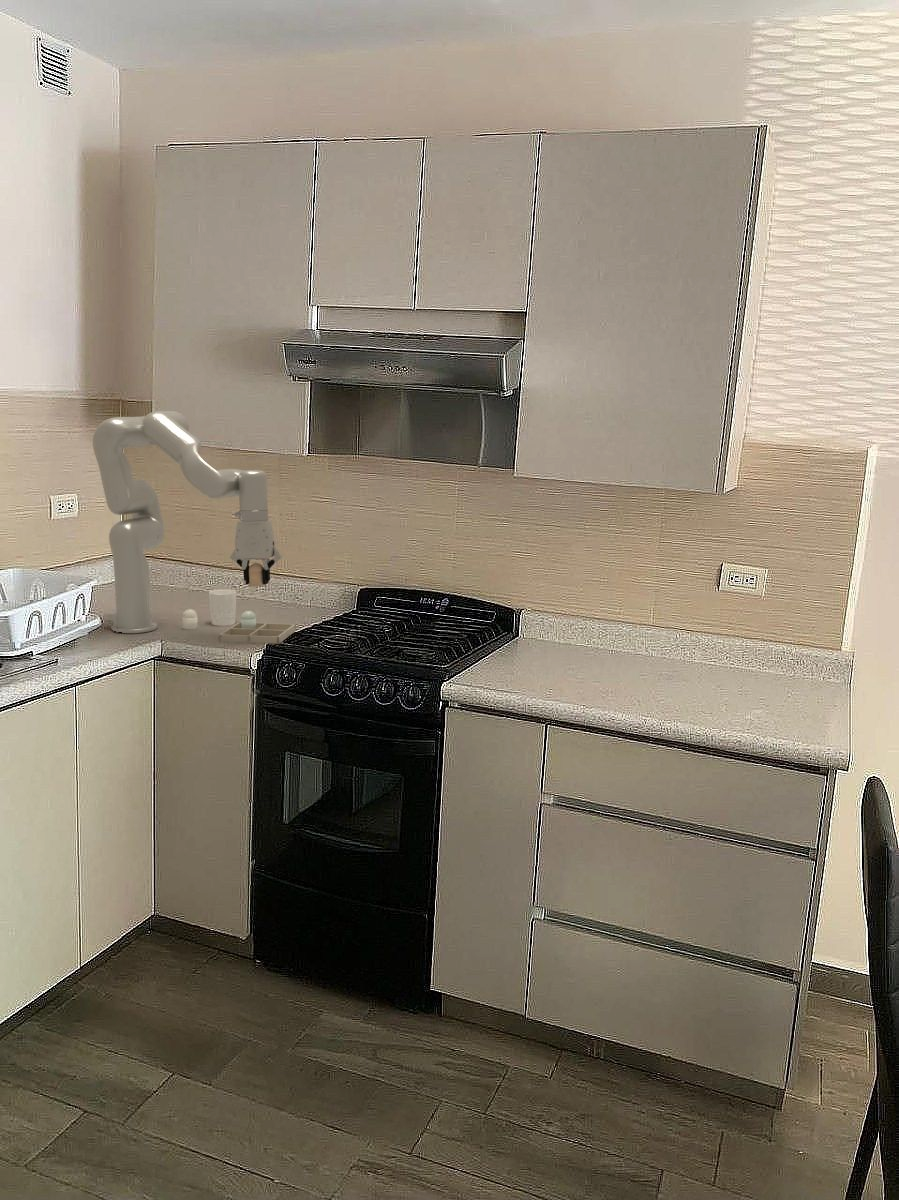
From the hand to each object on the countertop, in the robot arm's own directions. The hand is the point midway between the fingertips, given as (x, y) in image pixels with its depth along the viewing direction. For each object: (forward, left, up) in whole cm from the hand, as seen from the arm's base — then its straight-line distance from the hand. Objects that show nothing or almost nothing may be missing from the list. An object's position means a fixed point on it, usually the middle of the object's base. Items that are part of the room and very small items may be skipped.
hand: (257, 582), depth 287 cm
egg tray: (-1, +4, -16) cm, 17 cm away
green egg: (-5, +8, -16) cm, 19 cm away
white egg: (-23, +10, -16) cm, 30 cm away
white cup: (-16, +18, -17) cm, 30 cm away
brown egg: (0, 0, -1) cm, 1 cm away
